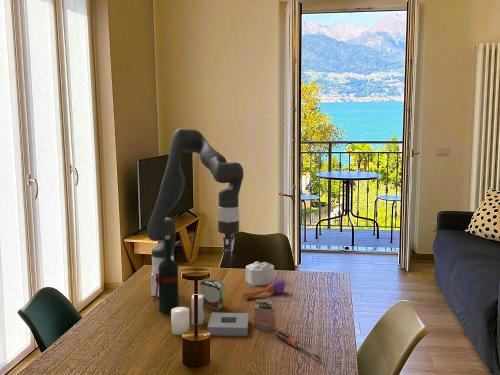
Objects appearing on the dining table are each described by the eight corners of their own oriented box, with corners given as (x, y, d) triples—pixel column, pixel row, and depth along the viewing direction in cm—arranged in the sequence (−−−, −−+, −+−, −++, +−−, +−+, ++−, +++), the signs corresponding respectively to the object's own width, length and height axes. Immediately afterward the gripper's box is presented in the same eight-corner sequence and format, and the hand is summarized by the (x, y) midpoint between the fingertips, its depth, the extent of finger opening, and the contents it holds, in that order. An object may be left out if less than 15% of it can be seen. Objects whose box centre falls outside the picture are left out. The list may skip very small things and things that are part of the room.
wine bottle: (150, 309, 213) (149, 235, 209) (174, 305, 218) (173, 233, 214) (157, 316, 206) (155, 240, 202) (181, 311, 211) (180, 237, 207)
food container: (231, 307, 216) (231, 283, 215) (220, 311, 212) (220, 286, 210) (211, 300, 225) (210, 276, 223) (200, 303, 220) (199, 280, 219)
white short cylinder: (170, 335, 189) (169, 313, 188) (173, 327, 195) (172, 306, 194) (188, 335, 188) (187, 313, 187) (190, 328, 195) (190, 307, 194)
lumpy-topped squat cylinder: (243, 280, 252) (243, 262, 251) (267, 276, 258) (268, 259, 257) (253, 286, 243) (253, 267, 242) (278, 282, 248) (278, 264, 247)
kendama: (240, 288, 228) (278, 277, 238) (242, 302, 228) (280, 291, 238) (247, 290, 222) (286, 278, 233) (249, 304, 222) (288, 292, 233)
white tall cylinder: (191, 324, 199) (191, 298, 197) (193, 319, 203) (192, 294, 201) (202, 324, 198) (202, 298, 197) (203, 320, 202) (203, 294, 201)
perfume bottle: (276, 327, 196) (276, 300, 195) (273, 330, 193) (274, 303, 191) (255, 324, 199) (255, 298, 197) (252, 327, 195) (252, 301, 194)
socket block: (207, 335, 188) (207, 327, 188) (211, 320, 202) (211, 312, 202) (247, 335, 188) (247, 327, 188) (248, 320, 202) (248, 313, 201)
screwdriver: (325, 362, 168) (325, 353, 168) (317, 365, 167) (317, 355, 166) (280, 335, 189) (280, 327, 189) (273, 337, 188) (273, 328, 187)
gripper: (219, 215, 197) (220, 258, 199) (216, 222, 183) (216, 268, 185) (240, 215, 197) (240, 258, 199) (238, 222, 183) (238, 269, 185)
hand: (228, 263), depth 192 cm, fingers open, 8 cm apart
